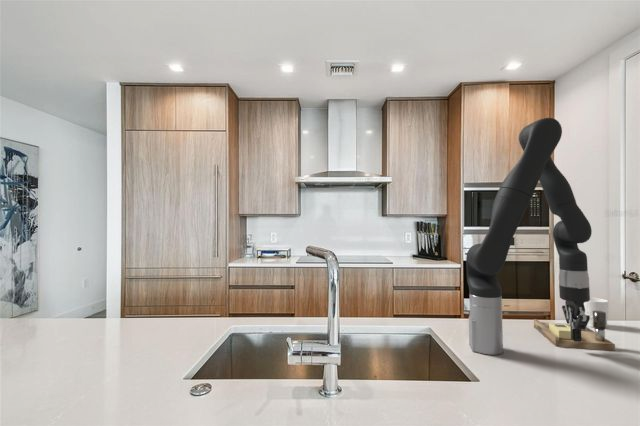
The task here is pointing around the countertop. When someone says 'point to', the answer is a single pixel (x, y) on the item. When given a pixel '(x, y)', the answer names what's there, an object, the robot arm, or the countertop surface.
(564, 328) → the stud finder
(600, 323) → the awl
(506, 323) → the countertop surface
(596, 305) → the white cup
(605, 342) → the board
